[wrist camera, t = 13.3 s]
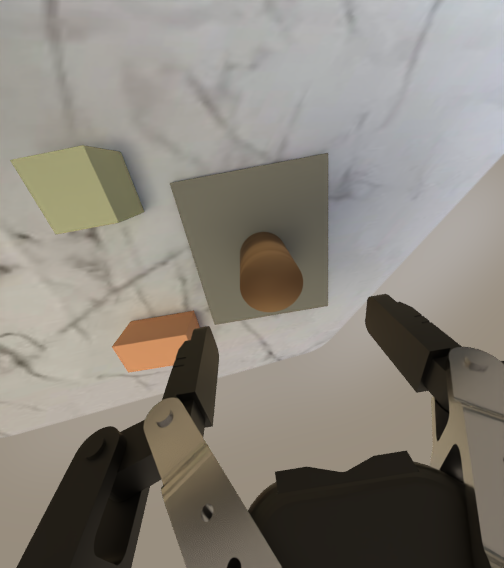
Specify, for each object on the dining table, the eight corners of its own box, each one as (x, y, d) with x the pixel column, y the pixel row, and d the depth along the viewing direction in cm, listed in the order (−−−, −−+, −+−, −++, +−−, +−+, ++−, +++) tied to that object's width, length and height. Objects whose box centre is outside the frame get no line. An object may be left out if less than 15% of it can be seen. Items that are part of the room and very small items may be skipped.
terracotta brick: (144, 344, 28) (128, 372, 24) (131, 320, 26) (112, 346, 22) (202, 334, 28) (196, 361, 24) (193, 310, 26) (185, 334, 22)
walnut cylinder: (235, 236, 21) (233, 262, 15) (283, 227, 21) (301, 250, 15) (244, 278, 23) (246, 316, 17) (287, 271, 23) (304, 306, 17)
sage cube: (65, 163, 18) (10, 160, 14) (121, 152, 18) (82, 145, 14) (95, 221, 21) (55, 234, 16) (144, 211, 21) (118, 222, 16)
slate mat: (172, 182, 19) (169, 183, 19) (324, 153, 19) (328, 152, 18) (215, 320, 27) (214, 324, 26) (325, 302, 26) (327, 305, 26)
